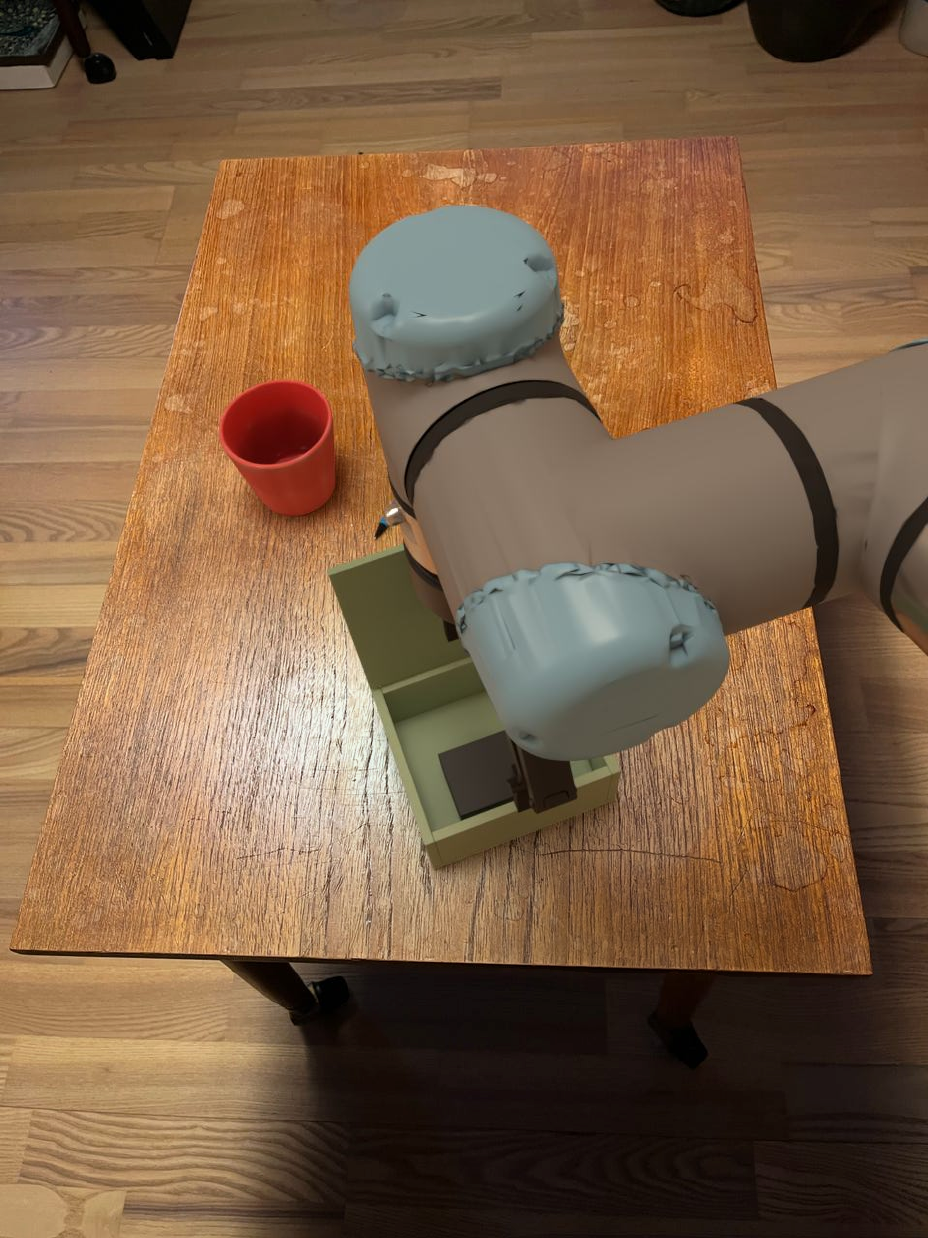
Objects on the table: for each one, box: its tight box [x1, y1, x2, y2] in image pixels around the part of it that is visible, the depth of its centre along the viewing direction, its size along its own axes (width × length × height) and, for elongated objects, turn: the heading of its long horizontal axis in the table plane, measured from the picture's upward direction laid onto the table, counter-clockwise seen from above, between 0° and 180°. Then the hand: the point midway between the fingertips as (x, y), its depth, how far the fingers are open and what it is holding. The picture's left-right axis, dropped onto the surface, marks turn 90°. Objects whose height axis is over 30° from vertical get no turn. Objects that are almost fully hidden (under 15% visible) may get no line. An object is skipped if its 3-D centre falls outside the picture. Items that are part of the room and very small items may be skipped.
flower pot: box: [218, 378, 336, 517], centre depth 88 cm, size 11×11×10 cm
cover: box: [326, 543, 468, 690], centre depth 67 cm, size 14×16×1 cm
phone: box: [438, 730, 515, 821], centre depth 73 cm, size 6×9×3 cm, turn 110°
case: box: [370, 655, 622, 871], centre depth 73 cm, size 14×16×7 cm
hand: (498, 711), depth 62 cm, fingers open, 13 cm apart
